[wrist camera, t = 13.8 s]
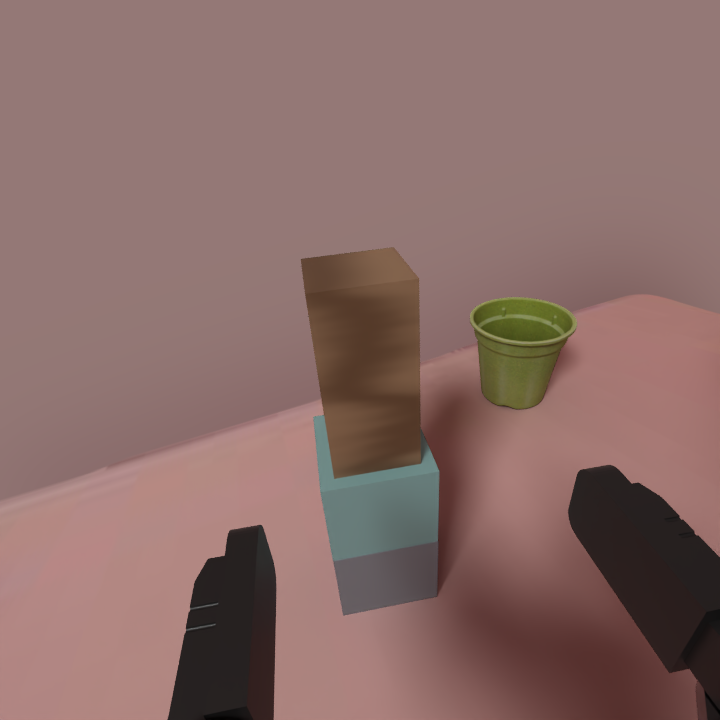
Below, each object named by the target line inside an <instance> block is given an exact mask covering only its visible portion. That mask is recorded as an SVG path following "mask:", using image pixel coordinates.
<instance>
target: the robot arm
mask: <svg viewBox="0 0 720 720" xmlns="http://www.w3.org/2000/svg"><path fill="white" fill-rule="evenodd" d="M568 514H569V520H570V524H571V527H572V529H573V531H574V533H575V534H576V536H577V538H578V539H579V540H580V542H581V543H582V545H583V546H584V548H585V549H586V551H587V552H588V554H589V555H590V557H591V558H592V560H593V561H594V563H595V564H596V566H597V567H598V568H599V570H600V571H601V573H602V574H603V576H604V577H605V579H606V580H607V582H608V583H609V585H610V586H611V588H612V589H613V591H614V592H615V594H616V595H617V596H618V598H619V599H620V601H621V602H622V604H623V605H624V607H625V608H626V610H627V611H628V613H629V614H630V616H631V617H632V619H633V620H634V622H635V623H636V624H637V626H638V627H639V629H640V630H641V632H642V633H643V635H644V636H645V638H646V639H647V641H648V642H649V644H650V645H651V647H652V648H653V650H654V651H655V652H656V654H657V655H658V657H659V658H660V660H661V661H662V663H663V664H664V666H665V667H666V669H667V670H668V672H669V673H671V672H676V671H680V670H685V669H690V670H691V672H692V673H693V674H694V676H695V677H696V679H697V680H698V681H697V683H696V702H697V713H698V720H720V557H719V556H718V555H717V554H716V553H715V552H714V551H713V550H712V549H711V548H710V547H709V546H708V545H707V544H706V543H705V542H704V541H703V540H702V539H701V538H700V537H699V536H696V535H695V533H694V530H693V529H692V528H691V527H690V526H689V525H688V524H687V523H686V522H685V521H684V520H681V519H680V517H679V515H678V514H677V513H676V512H675V511H674V510H673V509H672V508H671V507H670V506H669V504H668V503H667V502H666V501H665V500H664V499H663V498H662V497H660V496H659V495H657V494H656V493H654V492H652V491H651V490H649V489H648V488H646V487H645V486H643V485H641V484H640V483H633V484H631V482H630V481H629V480H628V479H627V478H626V477H625V476H624V475H623V474H622V473H621V472H620V471H619V470H618V469H617V468H616V467H614V466H612V465H606V466H600V467H594V468H589V469H583V470H580V471H579V472H578V474H577V477H576V481H575V485H574V489H573V493H572V497H571V501H570V505H569V510H568ZM275 628H276V574H275V567H274V562H273V559H272V555H271V552H270V549H269V545H268V542H267V539H266V535H265V532H264V529H263V526H262V525H257V526H251V527H245V528H240V529H234V530H230V531H229V533H228V537H227V544H226V551H225V556H221V557H215V558H210V559H208V560H207V562H206V563H205V565H204V567H203V568H202V570H201V572H200V574H199V575H198V577H197V579H196V580H195V583H194V588H193V593H192V599H191V604H190V612H189V614H188V619H187V624H186V633H185V635H184V640H183V645H182V650H181V655H180V660H179V665H178V671H177V676H176V681H175V686H174V691H173V696H172V701H171V707H170V712H169V716H168V720H274V674H275Z"/></svg>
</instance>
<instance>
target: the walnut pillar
mask: <svg viewBox="0 0 720 720" xmlns="http://www.w3.org/2000/svg"><path fill="white" fill-rule="evenodd" d="M301 264H302V272H303V280H304V288H305V296H306V302H307V308H308V315H309V321H310V328H311V334H312V340H313V347H314V353H315V359H316V365H317V372H318V379H319V385H320V392H321V398H322V405H323V411H324V417H325V424H326V430H327V437H328V443H329V449H330V456H331V462H332V469H333V475H334V479H337V478H343V477H348V476H354V475H360V474H365V473H371V472H377V471H383V470H388V469H394V468H400V467H405V466H411V465H417V464H421V430H420V332H419V329H420V328H419V278H418V277H417V275H416V274H415V273H414V272H413V271H412V269H411V268H410V267H409V266H408V264H407V263H406V262H405V261H404V259H403V258H402V257H401V256H400V254H399V253H398V252H397V251H396V250H395V248H384V249H376V250H368V251H361V252H353V253H345V254H337V255H329V256H321V257H313V258H305V259H301Z"/></svg>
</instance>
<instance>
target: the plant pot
mask: <svg viewBox="0 0 720 720" xmlns="http://www.w3.org/2000/svg"><path fill="white" fill-rule="evenodd" d="M470 323H471V325H472V326H473V328H474V331H475V336H476V338H477V339H478V351H479V364H480V377H481V389H482V393H483V394H484V396H485V397H486V398H487V399H488V400H489V401H491V402H492V403H494V404H496V405H499V406H501V405H505V406H509V407H512V408H514V409H525V408H530V407H533V406H535V405H537V404H538V403H539V402H541V400H542V398H543V396H544V394H545V391H546V388H547V385H548V382H549V380H550V377H551V374H552V371H553V369H554V366H555V363H556V361H557V358H558V356H559V353H560V350H561V348H562V347H563V346H564V345H565V343H566V341H567V339H568V337H570V336H571V335H572V334H573V333H574V332H575V330H576V327H577V320H576V318H575V317H574V315H573V314H572V313H571V312H569V311H568V310H567V309H565V308H563V307H561V306H559V305H557V304H554V303H551V302H548V301H543V300H538V299H532V298H521V297H520V298H519V297H512V298H501V299H494V300H491V301H487V302H484V303H482V304H480V305H478V306H477V307H475V308H474V309H473V310H472V312H471V314H470Z"/></svg>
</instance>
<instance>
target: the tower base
mask: <svg viewBox="0 0 720 720" xmlns="http://www.w3.org/2000/svg"><path fill="white" fill-rule="evenodd" d="M333 562H334V567H335V573H336V578H337V583H338V589H339V594H340V600H341V605H342V611H343V616H344V615H349V614H353V613H358V612H363V611H368V610H373V609H378V608H383V607H388V606H393V605H398V604H403V603H408V602H413V601H418V600H423V599H428V598H432V597H437V582H438V541H435V542H430V543H425V544H420V545H414V546H409V547H404V548H398V549H393V550H388V551H383V552H377V553H372V554H367V555H361V556H356V557H351V558H346V559H340V560H335V561H333Z"/></svg>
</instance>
